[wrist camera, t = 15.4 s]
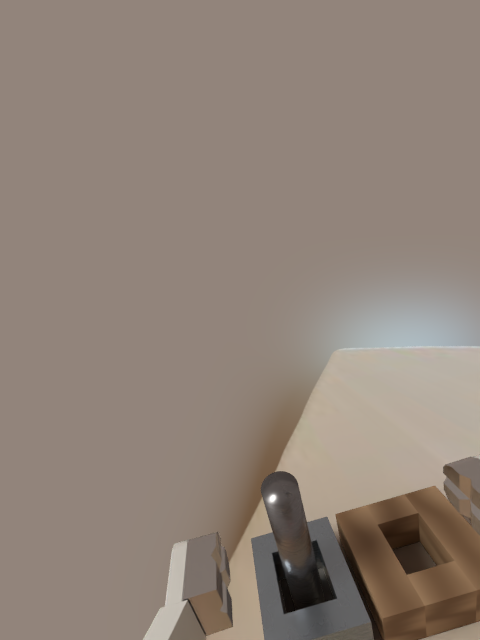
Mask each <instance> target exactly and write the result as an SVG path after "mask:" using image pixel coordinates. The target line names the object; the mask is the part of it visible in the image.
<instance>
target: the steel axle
mask: <svg viewBox="0 0 480 640" xmlns="http://www.w3.org/2000/svg"><path fill="white" fill-rule="evenodd" d="M261 493H262V497H263V500H264V504H265V507H266V510H267V514H268V517H269V521H270V524H271V528H272V531H273V535H274V538H275V541H276V545H277V548H278V552H279V555H280V559H281V562H282V566H283V569H284V572H285V576H286V579H287V583H288V586H289V590H290V593H291V597H292V600H293V603H294V607H295V610H296V611H297V610H300V609H304V608H307V607H310V606H314V605H317V604H320V603H324V602H325V598H324V594H323V590H322V585H321V581H320V577H319V572H318V568H317V564H316V560H315V555H314V551H313V547H312V542H311V538H310V534H309V530H308V525H307V521H306V517H305V512H304V508H303V504H302V500H301V495H300V491H299V487H298V483H297V480H296V479H295V477H294V476H293V475H291V474H290V473H287V472H283V471H279V472H274V473H272V474H270V475H268V476H267V477H266V478H265V479H264V481H263V483H262V487H261Z"/></svg>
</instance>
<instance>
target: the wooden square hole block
mask: <svg viewBox="0 0 480 640" xmlns="http://www.w3.org/2000/svg"><path fill="white" fill-rule="evenodd" d="M336 520H337V525H338V531H339V536H340V541H341V544H342V546H343V548H344V551H345V553H346V555H347V558H348V560H349V562H350V565H351V567H352V569H353V572H354V574H355V576H356V579H357V581H358V583H359V586H360V588H361V590H362V593H363V595H364V597H365V600H366V602H367V604H368V607H369V609H370V611H371V614H372V616H373V618H374V621H375V623H376V625H377V628H378V630H379V632H380V635H381V637H382V639H383V640H418V639H422V638H425V637H428V636H432V635H435V634H438V633H441V632H445V631H448V630H451V629H455V628H458V627H461V626H465V625H468V624H471V623H474V622H478V621H480V535H479V534H478V533H477V532H476V531H475V530H474V529H473V528H472V526H471V525H470V524H469V523H468V522H467V521H466V520H465V518H464V517H463V516H462V515H461V514H460V513H459V512H458V511H457V510H456V509H455V508H454V506H453V505H452V504H451V503H450V502H449V501H448V500H447V499H446V497H445V496H444V495H443V494H442V493H441V492H440V491H439V490H438V489H437V488H436V486H432V487H429V488H425V489H422V490H418V491H415V492H412V493H408V494H405V495H401V496H398V497H394V498H391V499H387V500H384V501H380V502H377V503H373V504H370V505H366V506H363V507H359V508H356V509H352V510H349V511H345V512H342V513H338V514H336ZM419 541H420V542H421V544H422V545H423V546H424V548H425V549H426V551H427V552H428V554H429V555H430V557H431V558H432V560H433V561H434V562H435V564H436V565H437V566H435V567H432V568H428V569H425V570H422V571H418V572H415V573H412V574H408V575H407V574H406V573H405V571H404V569H403V567H402V566H401V564H400V562H399V561H398V559H397V557H396V555H395V554H394V552H393V550H392V549H395V548H399V547H402V546H406V545H409V544H412V543H416V542H419Z"/></svg>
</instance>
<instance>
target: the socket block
mask: <svg viewBox="0 0 480 640" xmlns="http://www.w3.org/2000/svg"><path fill="white" fill-rule="evenodd" d="M307 525H308V530H309V534H310V538H311V542H312V547H313V551H314V555H315V560H316V564H317V568H318V569H319V568H323V569H324V572H325V575H326V578H327V581H328V584H329V587H330V590H331V593H332V596H333V598H334V600H331V601H327V602H324V603H320V604H317V605H314V606H310V607H307V608H304V609H300V610H297V611H293V612H290V613H287V612H286V607H285V602H284V597H283V593H282V588H281V583H280V580H282V579H285V578H286V576H285V572H284V569H283V566H282V562H281V559H280V555H279V552H278V548H277V545H276V541H275V538H274V535H273V532H272V533H269V534H265V535H262V536H258V537H255V538H251V542H252V549H253V557H254V564H255V571H256V579H257V586H258V594H259V601H260V609H261V616H262V624H263V631H264V639H265V640H374V637H373V631H372V625H371V621H370V618H369V616H368V613H367V611H366V609H365V606H364V604H363V601H362V599H361V597H360V594H359V592H358V589H357V587H356V585H355V582H354V580H353V577H352V575H351V573H350V570H349V568H348V566H347V563H346V561H345V558H344V556H343V554H342V551H341V549H340V546H339V544H338V542H337V539H336V537H335V534H334V532H333V530H332V527H331V525H330V522H329V520H328V518H327V517H324V518H321V519H318V520H314V521H311V522H307Z"/></svg>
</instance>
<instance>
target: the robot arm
mask: <svg viewBox="0 0 480 640" xmlns="http://www.w3.org/2000/svg"><path fill="white" fill-rule="evenodd" d="M443 473H444V474H445V475H446V476H447V478H446V480H445V481H444V491H445V493H446V495H447V497H448V499H449V501H450V502H451V504H452V505H453V506H454V508H455V509H456V510H457V511H458V512H459V513H460V514H462V515H464V516H466V517H468V518H470V521H471V525H472V528H473V529H474V530H475V531H476V532H477V533H478V534H479V535H480V455H477V456H473V457H468V458H465V459H462V460H459V461H456V462H452V463H449V464H446V465H445V466H444V467H443ZM229 584H230V569H229V563H228V557H227V554H226V550H225V548H224V547H223V546H221V538H220V536H219V533H218V532H216V533H212V534H208V535H205V536H201V537H198V538H194V539H190V540H186V541H183V542H180V543H176V544H174V547H173V549H172V555H171V563H170V571H169V579H168V587H167V594H166V602H165V606H164V607H161V608H160V610H159V612H158V613H157V615H156V617H155V619H154V621H153V622H152V624H151V626H150V628H149V630H148V632H147V633H146V635H145V637H144V639H143V640H206V636H207V635H210V634H213V633H216V632H219V631H222V630H225V629H228V628H231V627H233V620H232V601H231V597H230V594H229V592H228V589H227V588H228V586H229Z"/></svg>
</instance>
